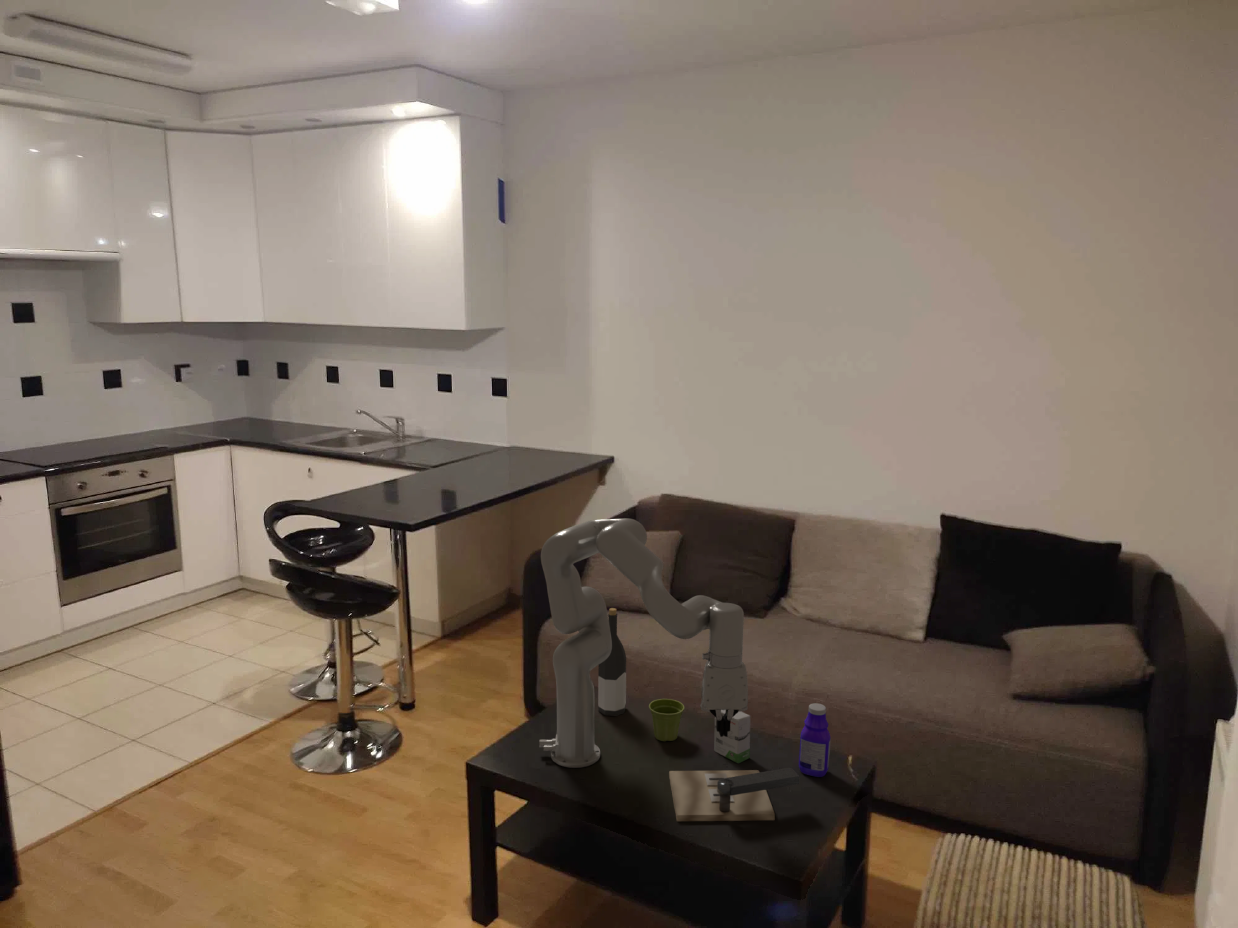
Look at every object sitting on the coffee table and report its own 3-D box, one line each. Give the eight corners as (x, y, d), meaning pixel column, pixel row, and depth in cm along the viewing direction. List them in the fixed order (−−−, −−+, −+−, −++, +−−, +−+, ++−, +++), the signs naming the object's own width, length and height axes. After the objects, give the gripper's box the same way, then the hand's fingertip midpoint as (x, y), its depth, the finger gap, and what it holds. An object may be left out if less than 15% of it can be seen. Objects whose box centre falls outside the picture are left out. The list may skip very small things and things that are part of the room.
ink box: (750, 758, 227) (752, 714, 225) (737, 764, 224) (738, 720, 222) (726, 745, 233) (727, 703, 231) (712, 751, 230) (713, 708, 228)
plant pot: (660, 724, 244) (661, 695, 243) (690, 734, 239) (690, 704, 237) (641, 738, 237) (642, 707, 235) (671, 748, 231) (672, 717, 230)
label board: (676, 821, 199) (677, 798, 198) (669, 776, 218) (669, 755, 217) (774, 819, 200) (775, 797, 199) (758, 775, 218) (759, 754, 217)
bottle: (830, 769, 221) (834, 704, 218) (825, 780, 216) (829, 714, 213) (801, 763, 224) (804, 698, 221) (796, 774, 219) (799, 708, 216)
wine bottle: (607, 701, 258) (607, 602, 253) (631, 707, 254) (632, 607, 249) (592, 711, 252) (592, 610, 246) (617, 718, 248) (618, 616, 242)
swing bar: (714, 787, 202) (714, 779, 201) (790, 775, 207) (791, 767, 207) (721, 797, 198) (721, 788, 197) (799, 783, 203) (799, 775, 203)
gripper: (694, 665, 196) (692, 742, 200) (761, 664, 197) (758, 741, 200) (690, 651, 204) (688, 726, 207) (755, 651, 204) (752, 725, 208)
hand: (723, 733), depth 204 cm, fingers closed
